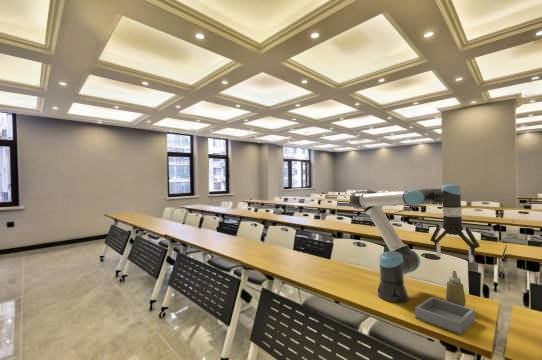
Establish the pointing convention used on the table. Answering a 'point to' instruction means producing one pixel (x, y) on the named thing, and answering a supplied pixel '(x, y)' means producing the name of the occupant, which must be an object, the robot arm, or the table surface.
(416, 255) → the robot arm
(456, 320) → the bin
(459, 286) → the squeeze bottle
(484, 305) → the table surface
